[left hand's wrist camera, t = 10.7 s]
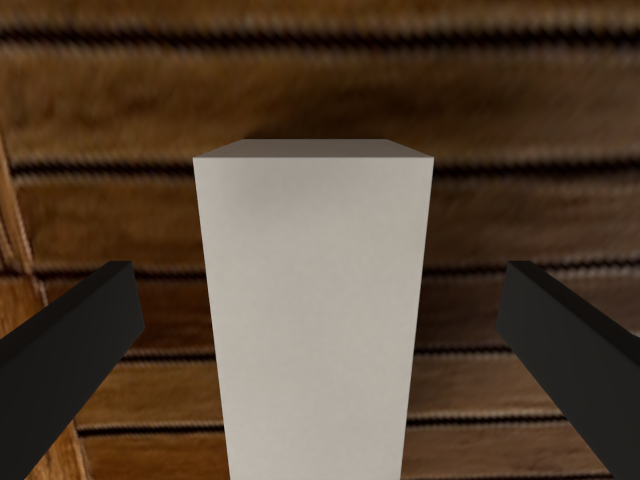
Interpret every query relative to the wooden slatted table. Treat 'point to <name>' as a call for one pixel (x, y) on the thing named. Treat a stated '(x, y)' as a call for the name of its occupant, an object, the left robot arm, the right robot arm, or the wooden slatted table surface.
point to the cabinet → (314, 301)
